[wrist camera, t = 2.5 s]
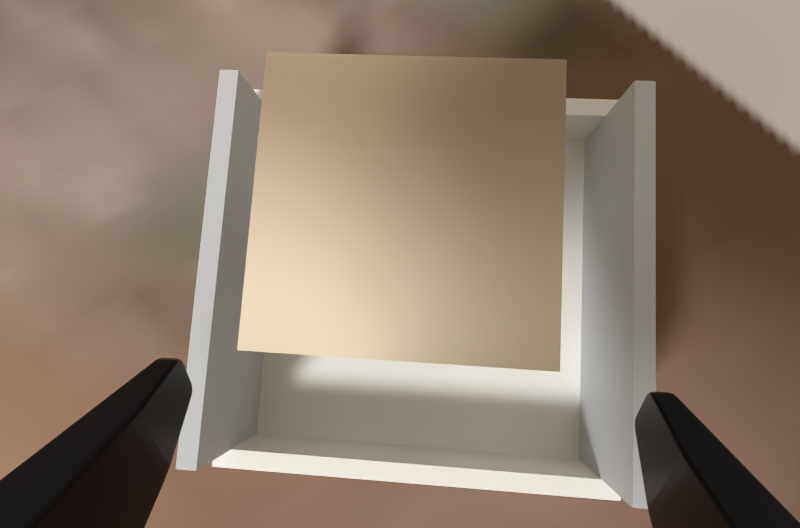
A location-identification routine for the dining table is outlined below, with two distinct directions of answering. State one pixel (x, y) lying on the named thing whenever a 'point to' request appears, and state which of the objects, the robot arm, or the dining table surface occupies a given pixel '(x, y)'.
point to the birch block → (408, 210)
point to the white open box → (443, 383)
